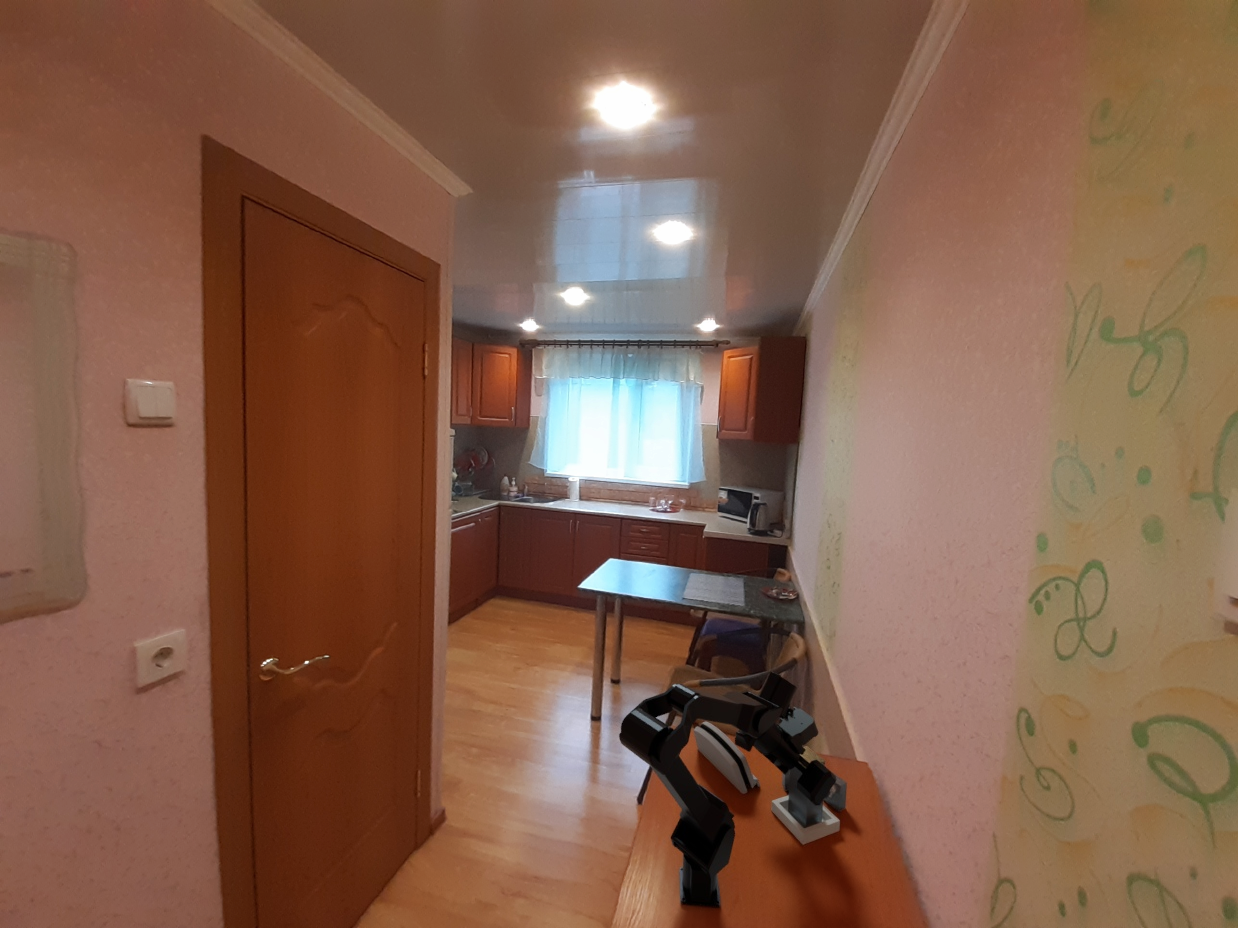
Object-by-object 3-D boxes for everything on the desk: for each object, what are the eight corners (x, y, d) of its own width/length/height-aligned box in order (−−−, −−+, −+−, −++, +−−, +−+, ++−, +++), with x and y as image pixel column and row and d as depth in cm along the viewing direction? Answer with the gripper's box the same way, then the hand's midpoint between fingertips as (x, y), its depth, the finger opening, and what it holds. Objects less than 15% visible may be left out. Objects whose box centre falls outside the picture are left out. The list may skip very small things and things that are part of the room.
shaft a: (831, 816, 102) (832, 790, 101) (814, 803, 105) (815, 777, 105) (846, 807, 104) (848, 781, 104) (830, 794, 108) (831, 769, 107)
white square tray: (839, 830, 98) (839, 820, 98) (802, 844, 95) (803, 834, 95) (805, 798, 107) (806, 789, 106) (771, 810, 103) (771, 800, 103)
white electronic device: (761, 787, 110) (751, 750, 107) (745, 800, 108) (734, 763, 106) (714, 742, 125) (703, 709, 122) (698, 754, 123) (688, 720, 120)
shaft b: (806, 800, 106) (808, 775, 106) (787, 798, 106) (788, 773, 106) (800, 783, 111) (801, 759, 111) (781, 782, 111) (782, 757, 111)
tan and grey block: (821, 823, 99) (825, 760, 98) (805, 829, 98) (809, 765, 97) (803, 805, 104) (806, 745, 103) (787, 811, 102) (790, 750, 101)
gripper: (830, 730, 88) (873, 774, 94) (762, 679, 106) (801, 719, 111) (792, 784, 86) (838, 826, 91) (729, 723, 103) (770, 761, 108)
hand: (811, 778), depth 100 cm, fingers open, 9 cm apart
